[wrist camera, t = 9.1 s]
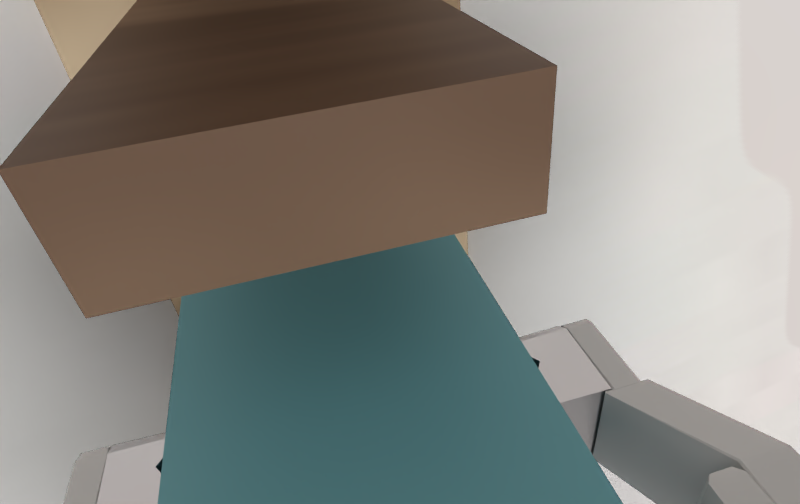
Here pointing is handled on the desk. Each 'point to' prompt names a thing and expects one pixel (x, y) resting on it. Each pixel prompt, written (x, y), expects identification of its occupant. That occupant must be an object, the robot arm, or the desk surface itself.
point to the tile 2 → (278, 142)
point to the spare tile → (366, 393)
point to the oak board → (89, 26)
